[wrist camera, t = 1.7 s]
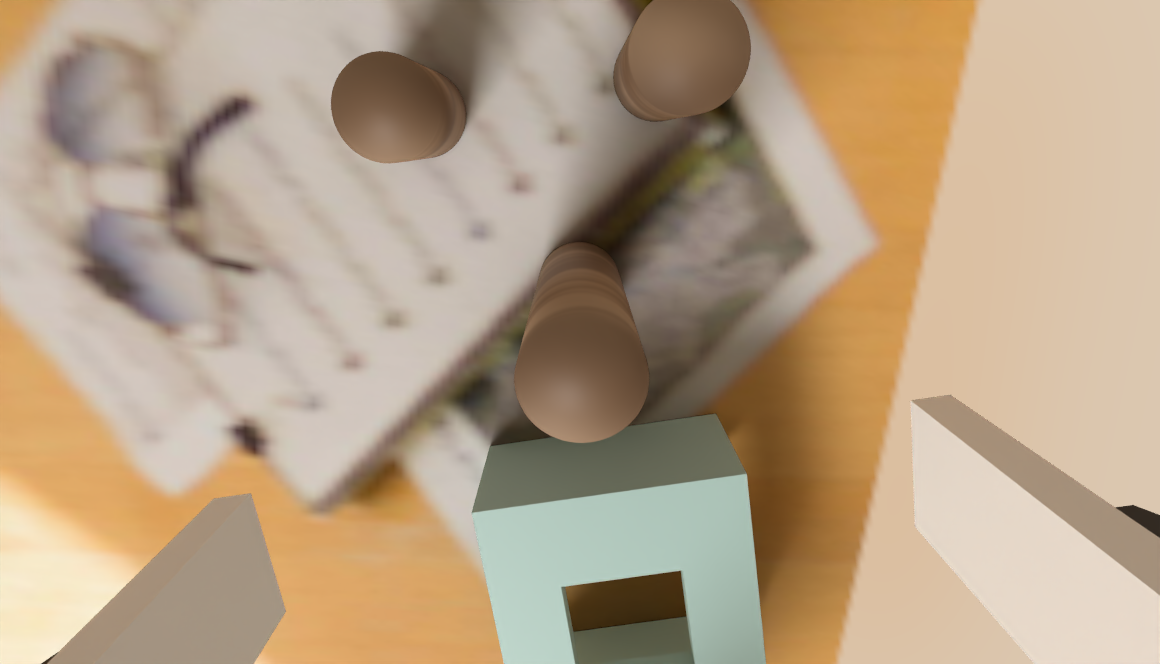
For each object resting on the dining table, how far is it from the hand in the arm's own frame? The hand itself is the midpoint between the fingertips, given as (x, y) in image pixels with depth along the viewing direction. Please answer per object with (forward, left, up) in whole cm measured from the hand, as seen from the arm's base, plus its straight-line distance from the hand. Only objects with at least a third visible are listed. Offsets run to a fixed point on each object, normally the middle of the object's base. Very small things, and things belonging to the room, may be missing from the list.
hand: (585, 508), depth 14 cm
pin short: (-9, -6, -22) cm, 25 cm away
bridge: (+15, 0, -22) cm, 27 cm away
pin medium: (-9, +5, -22) cm, 25 cm away
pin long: (0, 0, -22) cm, 22 cm away
